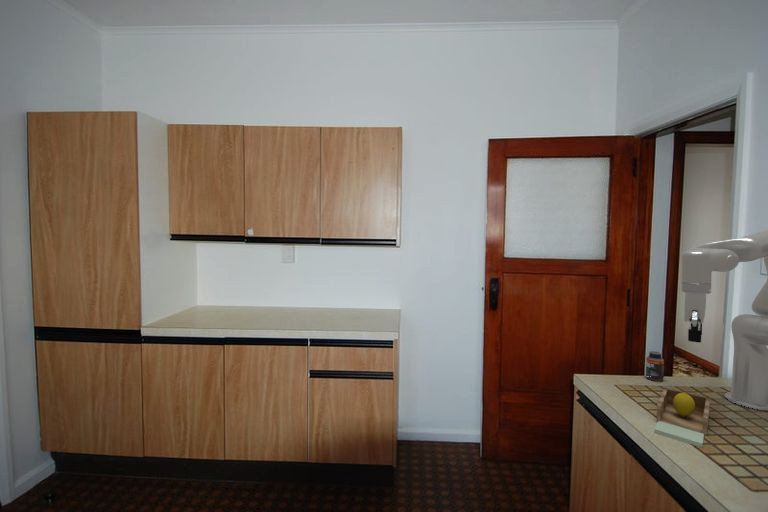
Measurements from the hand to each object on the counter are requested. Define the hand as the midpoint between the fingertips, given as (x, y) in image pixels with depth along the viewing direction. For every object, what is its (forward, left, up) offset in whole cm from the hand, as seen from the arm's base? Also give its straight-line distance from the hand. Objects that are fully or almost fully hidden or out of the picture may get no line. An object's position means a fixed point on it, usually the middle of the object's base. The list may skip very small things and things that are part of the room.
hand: (695, 337), depth 122 cm
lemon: (+8, +4, -25) cm, 26 cm away
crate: (+8, +4, -25) cm, 27 cm away
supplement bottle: (-13, -25, -26) cm, 38 cm away
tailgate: (+16, +10, -25) cm, 31 cm away
